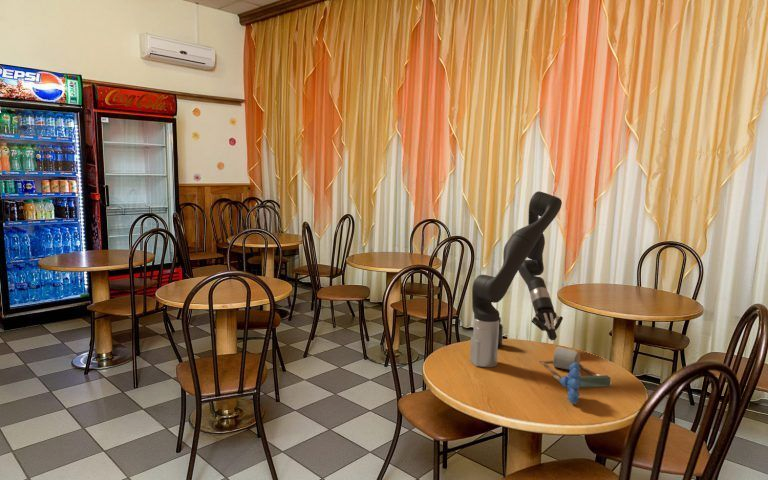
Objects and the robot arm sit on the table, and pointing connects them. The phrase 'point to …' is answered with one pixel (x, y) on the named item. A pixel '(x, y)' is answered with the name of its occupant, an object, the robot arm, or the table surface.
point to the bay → (584, 377)
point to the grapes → (572, 382)
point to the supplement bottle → (500, 334)
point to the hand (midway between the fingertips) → (553, 339)
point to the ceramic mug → (565, 358)
